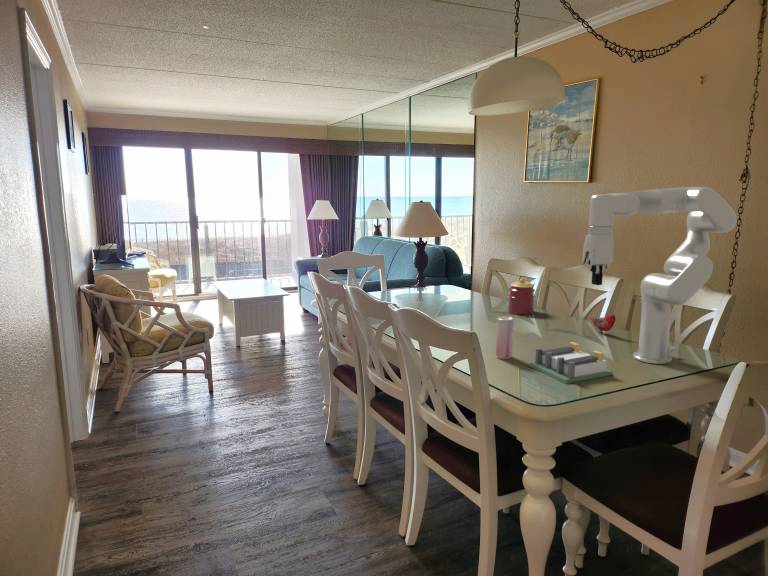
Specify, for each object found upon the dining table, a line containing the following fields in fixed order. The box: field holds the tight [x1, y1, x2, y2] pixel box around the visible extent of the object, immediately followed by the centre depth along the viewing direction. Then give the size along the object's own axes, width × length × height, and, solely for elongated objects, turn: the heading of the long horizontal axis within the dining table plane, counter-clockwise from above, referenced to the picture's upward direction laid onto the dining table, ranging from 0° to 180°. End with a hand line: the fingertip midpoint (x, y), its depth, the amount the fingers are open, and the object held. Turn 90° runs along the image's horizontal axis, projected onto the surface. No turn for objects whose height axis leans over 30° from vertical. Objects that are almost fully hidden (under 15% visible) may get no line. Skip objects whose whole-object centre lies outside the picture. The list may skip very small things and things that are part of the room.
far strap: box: [541, 346, 574, 355], centre depth 181 cm, size 12×3×1 cm, turn 113°
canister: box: [507, 277, 536, 316], centre depth 262 cm, size 13×13×18 cm
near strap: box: [563, 354, 598, 365], centre depth 171 cm, size 12×3×1 cm, turn 113°
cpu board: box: [529, 341, 614, 384], centre depth 177 cm, size 20×18×7 cm
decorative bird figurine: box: [586, 313, 617, 336], centre depth 222 cm, size 3×18×10 cm, turn 19°
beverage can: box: [495, 316, 514, 360], centre depth 191 cm, size 6×6×15 cm
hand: (596, 284), depth 178 cm, fingers closed
